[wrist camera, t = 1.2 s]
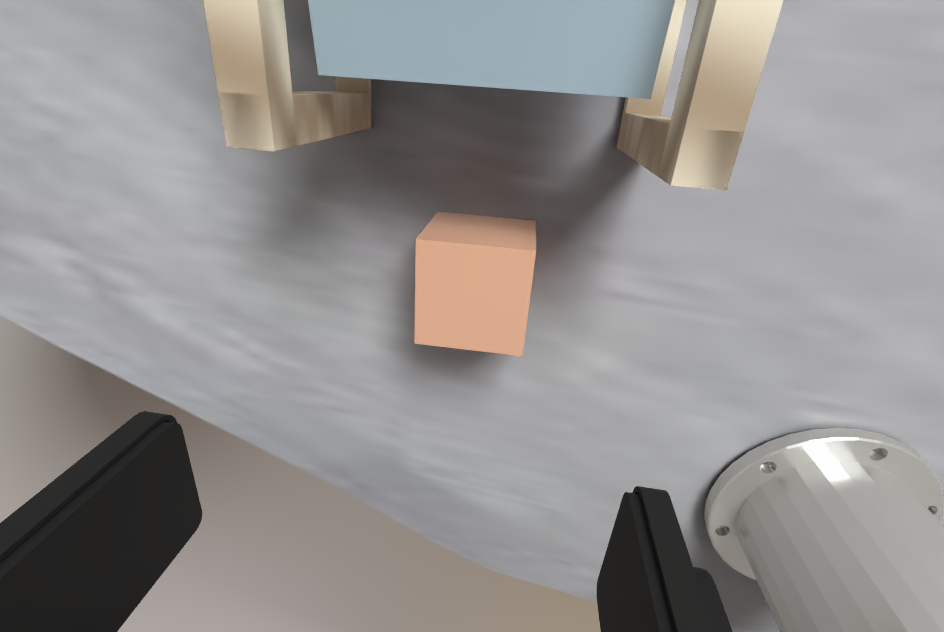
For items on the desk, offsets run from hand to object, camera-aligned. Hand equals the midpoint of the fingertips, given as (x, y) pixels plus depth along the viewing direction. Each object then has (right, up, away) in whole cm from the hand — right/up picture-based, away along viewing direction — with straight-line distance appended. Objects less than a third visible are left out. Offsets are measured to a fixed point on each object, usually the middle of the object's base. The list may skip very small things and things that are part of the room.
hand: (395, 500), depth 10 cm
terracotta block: (+2, +7, +15) cm, 17 cm away
